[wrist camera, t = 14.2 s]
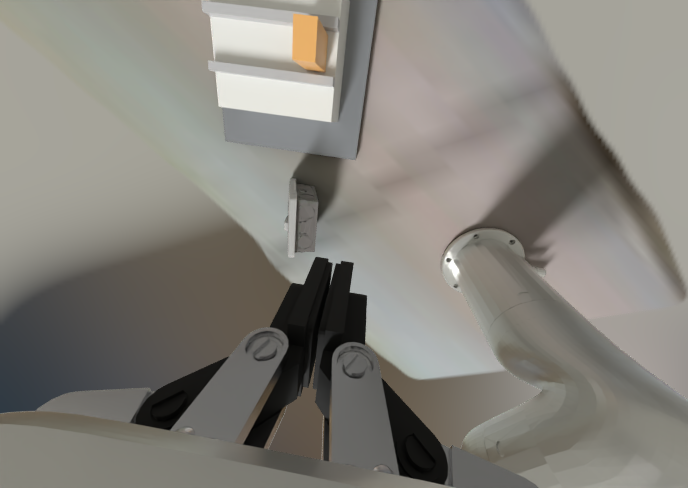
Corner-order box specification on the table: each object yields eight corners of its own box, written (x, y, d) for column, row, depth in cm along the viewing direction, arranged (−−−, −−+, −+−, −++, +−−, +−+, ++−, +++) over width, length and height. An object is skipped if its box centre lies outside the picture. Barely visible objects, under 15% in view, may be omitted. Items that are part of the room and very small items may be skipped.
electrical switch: (290, 176, 38) (275, 193, 30) (323, 180, 39) (317, 198, 30) (289, 230, 43) (275, 258, 35) (319, 234, 43) (312, 262, 35)
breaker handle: (328, 35, 24) (317, 16, 20) (325, 72, 25) (315, 62, 21) (307, 33, 24) (293, 13, 20) (306, 70, 25) (292, 59, 21)
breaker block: (384, -44, 27) (388, -112, 19) (356, 158, 36) (351, 169, 28) (213, -63, 27) (150, -135, 20) (230, 140, 37) (192, 145, 29)
